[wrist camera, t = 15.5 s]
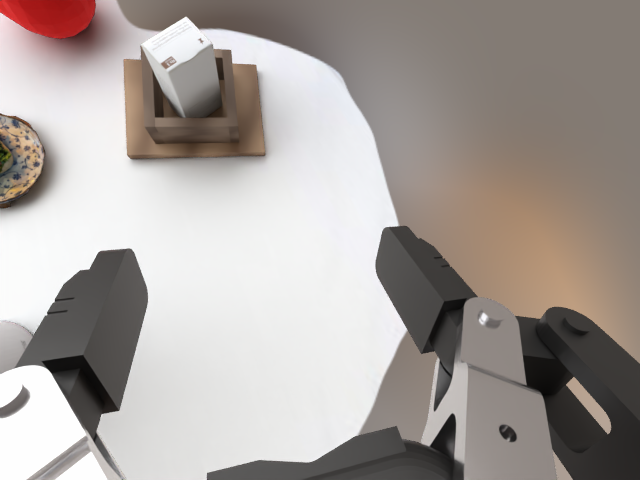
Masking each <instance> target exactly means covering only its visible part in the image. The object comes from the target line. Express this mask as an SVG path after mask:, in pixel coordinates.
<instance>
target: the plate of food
mask: <svg viewBox="0 0 640 480" xmlns="http://www.w3.org/2000/svg"><path fill="white" fill-rule="evenodd" d="M44 158H45V150H44V148H43V146H42V144H41V142H40V140H39V138H38V135H37V133H36V131H34V130H33V129H32V127H31V125H30V124H29V123H27V122H26V121H24V120H22V119H20V118H18V117H16V116H6V115H3V114H1V113H0V208H8V207H11V206H10V202H12V201H14V200H16V199H18V198H20V197H22V196H24V195H26V194H27V193H28V191H29V189H30V188H31V187H32V185H33V184H35V183H36V182H37V180H38V179H39V177H40V175H41V172H42V170H43V163H44Z"/></svg>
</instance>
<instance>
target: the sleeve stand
mask: <svg viewBox="0 0 640 480" xmlns="http://www.w3.org/2000/svg"><path fill="white" fill-rule="evenodd" d="M214 56H215V61H216V67H217V73H218V79H219V86H220V92H221V98H222V104H223V105H222V106H221V107H220V108H218V109H217V110H215V111H214V112H213V113H211V114H210V115H208V116H207V117H206V118H180V117H179V116H178V115H177V114H176V112H175V111H174V110H173V109H172V108H171V107H170V106H169V103H168V101H167V99H166V97H165V95H164V93H163V91H162V89H161V86H160V84H159V82H158V80H157V78H156V76H155V74H154V71H153V69H152V67H151V65H150V63H149V61H148V59H147V57H146V54H145V52H144V50H143V48H142V46H141V60H132V59H124V84H125V110H126V137H127V155H128V156H129V158H130V159H140V158H181V157H222V156H263V155H265V147H264V137H263V127H262V118H261V108H260V98H259V88H258V79H257V69H256V65H251V64H232V55H231V50H222V49H214Z"/></svg>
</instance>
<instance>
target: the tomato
mask: <svg viewBox="0 0 640 480" xmlns="http://www.w3.org/2000/svg"><path fill="white" fill-rule="evenodd" d="M95 7H96V4H95V0H0V13H2V14H3V15H5V16H7V17H8V18H10V19H11V20H13V21H14V22H16V23H18V24H19V25H21V26H22V27H24V28H25V29H27V30H29V31H31V32H34V33H38V34H41V35H44V36H47V37H51V38H58V39H63V38H67V37H71V36H75V35H76V34H78V33H79V32H81V31H82V30H84V29H85V28H87V27H88V25H89V23H90V21H91V20H92V18H93V16H94V13H95Z"/></svg>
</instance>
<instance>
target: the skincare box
mask: <svg viewBox="0 0 640 480" xmlns="http://www.w3.org/2000/svg"><path fill="white" fill-rule="evenodd" d="M141 46H142V48H143V50H144V52H145V54H146V57H147V59H148V61H149V63H150V65H151V67H152V69H153V71H154V74H155V76H156V78H157V80H158V82H159V84H160V86H161V89H162V91H163V93H164V95H165V97H166V99H167V101H168V103H169V106H170V107H171V108H172V109H173V110H174V111H175V112H176V114H177V115H178V116H179V117H180V118H206V117H207V116H208V115H210V114H211V113H213V112H214V111H215V110H217V109H218V108H220V107H221V106H222V105H223V104H222V98H221V92H220V86H219V79H218V73H217V67H216V61H215V56H214V49H213V44H212V43H211V42H210V41H209V40H208V39H207V38H206V37H205V36H204V35H203V33H202V32H201V31H200V30H199V29H198V28H197V27H196V26H195V25H194V24H193V23H192V22H191V21H190V20H189V19H188V18H187V17H185V18H183V19H182V20H180V21H178V22H177V23H175V24H174V25H172V26H170V27H169V28H167V29H165V30H164V31H162V32H161V33H159V34H157V35H156V36H154V37H152V38H151V39H149V40H147V41H146V42H144V43H142V44H141Z"/></svg>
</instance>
